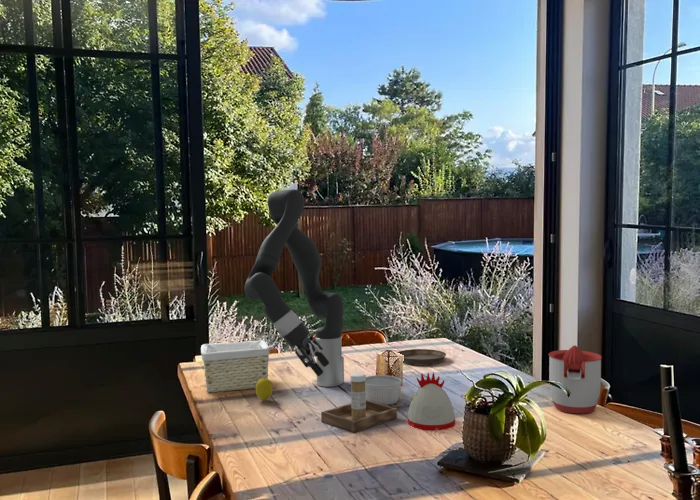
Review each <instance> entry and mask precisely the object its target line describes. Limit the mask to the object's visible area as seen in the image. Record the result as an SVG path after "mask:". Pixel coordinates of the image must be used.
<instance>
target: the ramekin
mask: <svg viewBox="0 0 700 500" xmlns="http://www.w3.org/2000/svg"><path fill="white" fill-rule="evenodd" d="M401 386H402V380H401V378H399V377H397V376H393V375H389V374H388V375H387V374H386V375H383V374H380V375H379V374H377V375H376V374H375V375H369V376H366V380H365V390H366V400H369V401H372V402H376V403H379V404H383V405H386V406H389V405H388V404H390V405H394V404H396V403H397V402H398V401H399V399H400V393H401ZM393 403H394V404H393Z"/></svg>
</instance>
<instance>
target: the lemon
mask: <svg viewBox="0 0 700 500" xmlns="http://www.w3.org/2000/svg"><path fill="white" fill-rule="evenodd" d="M255 394H256V396H257V398H259V399H260V400H262V401H263V402H266V401H267V400H268V399H270V397H272V395H273V383H272V381H271V380H270V379H269V378H268V379H267V378H265V377H263V378H262V379H260V380H259V381H258V382H257V384H256V388H255Z"/></svg>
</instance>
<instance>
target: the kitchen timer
mask: <svg viewBox="0 0 700 500" xmlns="http://www.w3.org/2000/svg"><path fill="white" fill-rule="evenodd" d="M420 378H421V380H420V379H419V378H418V377H416V381H417V383H418V385H419V386H420V387H419V388H418V389H417V390H416V391H415V394H414V395H413V396H412V397H411V398H410V400H411V401H410V405H409V407H408V412H407V424H408V426H410V427H411V426H412V428H413V427H414V428H413V429H416V428H417V430H419V431H436V432H437V431H438V432H439V431H445V430H449V429H452V428H453V427H455V425H456V413H455V410H454V406H453V404H452V401H451V398H450V397H449V395H448V393H447V392H446V390H444V389H443V386H444V384H445V379H443V380H442V382H441V383H439V382H440V379H441V378H440V375H438V376H437V378H436V377H435V373H434V372H432V374H431V378H430V373H429V372H427V375H426V379H425V378H424V374H423V373H421V374H420Z"/></svg>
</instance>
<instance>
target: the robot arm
mask: <svg viewBox="0 0 700 500" xmlns="http://www.w3.org/2000/svg"><path fill="white" fill-rule="evenodd" d="M266 202H267V209H268V211H269V214H270V216H271V217H272V220H273V221H274V224H275V225H276V226H275V227H274V228H273V230H272V231H270V233H269V234H268V235H267V236H266V237H265V238H264V240H263V241H262V243H261V245H260V247H259V250H258V253H257V256H256V259H255V262H254V264H253V267H252V268H251V270H250V273H249V274H248V277H247V279H246V281H245V284H244V294H245V296H246V297H247V298H248V299H249V300H251V301H259V300H261V301H262V303H263V305H264V307H263V312H264V314H265V315H266V316H267V318H268V319H269V320H270V322H271V323H272V325H274V327H275V329H276V330H277V332H278V333H279V334H280V336H281V337H282V338H283V339H284V341H285V342H286V343H287V344H288V345H289V347H290V348H293V347H296V348H297V349H296V350H295V351H294V354H295V355H296V356H297V357H298V359H299V361H301V363H302V364H303V365H304V367H305V368H306V369H307V368H310V369H311V370H312V371H313V373H314V374H315V375H316V384H317V385H318V386H320V387H323V388H324V387H325V388H327V387H328V388H330V387H338V386H341V385H342V384H344V383H345V359H344V356H343V353H342V351H343V350H342V348H343V347H342V331H343V328H344V327H343V326H344V301H343V297H342V296H341V294H339V293H336V292H328V291H327V292H324V290H323V289H322V287H321V285H320V284H321V283H320V281H319V278H320V277H319V276H320V272H321V267H322V260H321V256H320V253H319V251H318V248H317V245H316V244H315V242H314V241H313V240H312V239H311V238H310V237H309V236H308V235H307V234H306V233H305V232H303V231H302V230H301V229H300V228H299V227H298V226H297V223H298V222H299V220H300V218H301V216H302V214H303V211H304V209H305V197H304V196H303V194H302V192H301V191H300V190H298V189H283V190H276V191H275V190H274V191H272V192H270V193H269V195H268V197H267V201H266ZM285 246H286V248H287V249H288V252H289V254H290V257H291V259H292V262H293V264H294V266H295V269H296V271H297V272H298V276H299V278H300V281H301V283H302V286H303V289H304V292H305V295H306V298H307V302H308V306H309V309H310V311H311V313H312V314H313V315H314V316H315V317H318V318H320V319H321V318H323V319H326V320H325V324H324V326H320V327H317V328H316V330H315V337H314V336H313V335H312V334H311V335H310V333H311V332H310V331H311V330H309V329H308V327H307V326H306V325H305V324H304V323H303V321H302V320H301V318H300V317H299V316H298V314H296V313H295V312H294V311H293V310H292V309H291V307H290V306H289V305H288V304H287V303H288V302H287V303H286V301H285V300H284V299H283V297H282V295H281V292H280V290H279V288H278V286H277V284H276V282H275V281H274V279H273V278H272V275H273V274H274V272H275V271H276V270H277V268H278V265H279V262H280V259H281V257H282V254H283V251H284V249H285ZM309 335H310V336H309Z"/></svg>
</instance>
